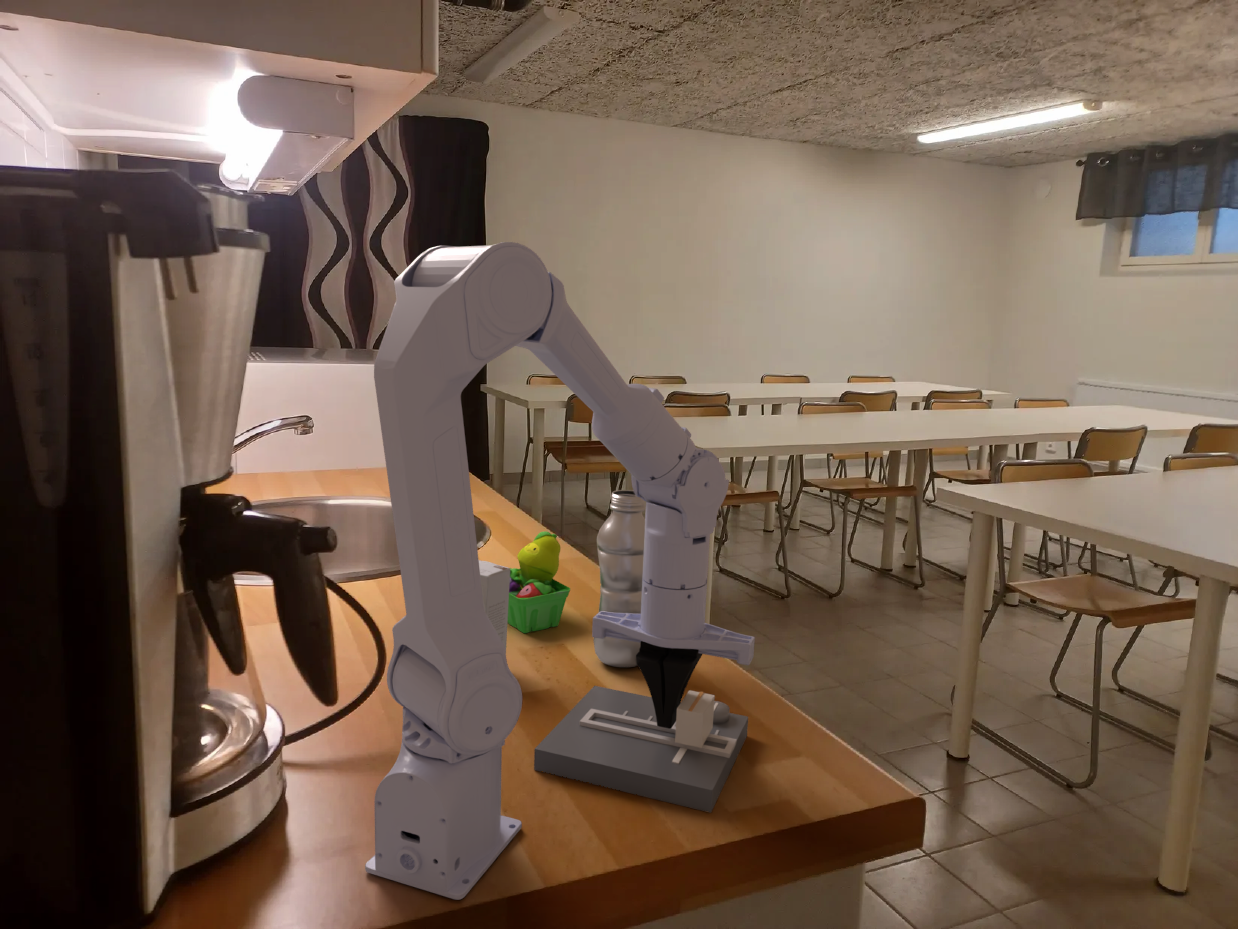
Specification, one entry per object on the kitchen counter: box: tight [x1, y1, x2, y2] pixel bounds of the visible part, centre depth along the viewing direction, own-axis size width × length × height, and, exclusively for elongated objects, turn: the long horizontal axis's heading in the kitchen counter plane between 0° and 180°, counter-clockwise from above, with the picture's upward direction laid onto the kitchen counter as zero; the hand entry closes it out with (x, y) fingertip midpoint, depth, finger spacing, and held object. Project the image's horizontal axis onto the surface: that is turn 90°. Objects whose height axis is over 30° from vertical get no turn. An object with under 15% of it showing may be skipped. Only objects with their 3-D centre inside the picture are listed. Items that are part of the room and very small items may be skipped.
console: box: [533, 685, 749, 813], centre depth 79 cm, size 14×16×3 cm
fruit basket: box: [507, 530, 571, 634], centre depth 111 cm, size 11×9×11 cm
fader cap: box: [675, 689, 715, 748], centre depth 77 cm, size 4×2×4 cm, turn 160°
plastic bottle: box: [593, 489, 646, 668], centre depth 97 cm, size 6×7×20 cm
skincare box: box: [478, 559, 511, 652], centre depth 94 cm, size 6×4×12 cm
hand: (667, 722), depth 78 cm, fingers closed
